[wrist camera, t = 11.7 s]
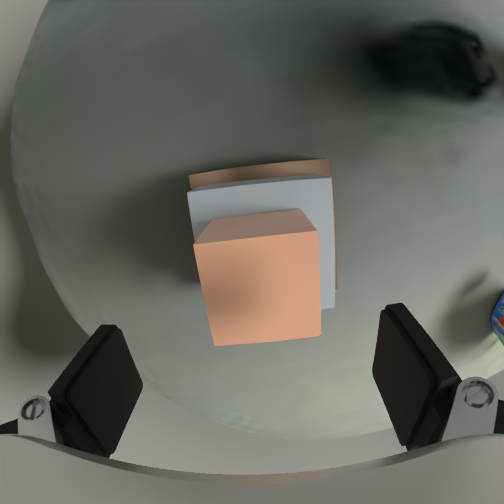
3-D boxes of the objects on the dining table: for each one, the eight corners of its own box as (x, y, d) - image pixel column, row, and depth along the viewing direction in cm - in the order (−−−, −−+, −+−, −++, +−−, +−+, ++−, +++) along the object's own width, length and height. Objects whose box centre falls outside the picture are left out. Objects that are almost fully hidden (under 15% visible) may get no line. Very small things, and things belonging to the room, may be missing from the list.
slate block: (316, 174, 21) (331, 177, 17) (322, 282, 24) (334, 307, 20) (200, 186, 22) (187, 192, 17) (216, 292, 24) (209, 319, 20)
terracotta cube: (300, 208, 18) (317, 230, 12) (306, 289, 19) (321, 335, 14) (212, 219, 18) (192, 244, 13) (226, 297, 20) (214, 345, 14)
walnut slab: (318, 158, 25) (330, 158, 21) (326, 270, 29) (337, 289, 24) (199, 172, 26) (188, 175, 21) (217, 282, 29) (211, 303, 25)
